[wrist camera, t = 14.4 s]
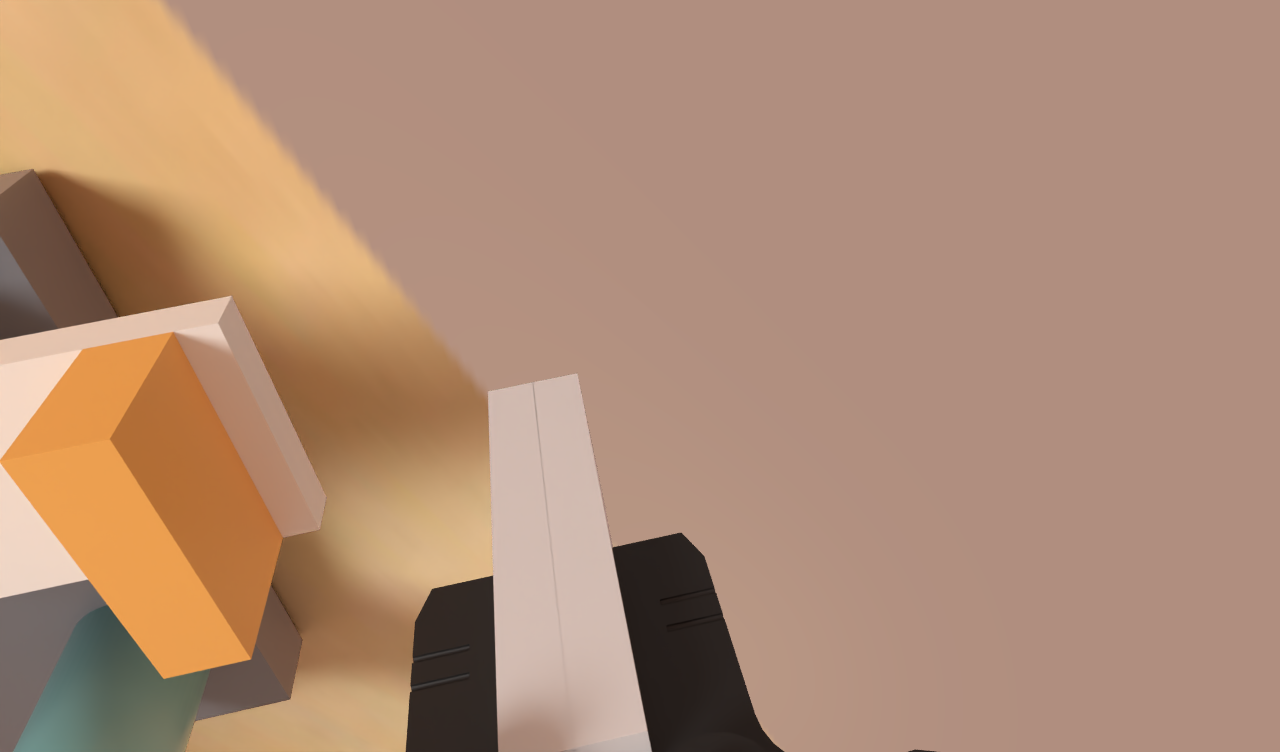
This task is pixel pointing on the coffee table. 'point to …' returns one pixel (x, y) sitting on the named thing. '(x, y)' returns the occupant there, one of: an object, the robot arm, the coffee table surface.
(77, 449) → the lid
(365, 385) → the coffee table surface
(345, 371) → the coffee table surface
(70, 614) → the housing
